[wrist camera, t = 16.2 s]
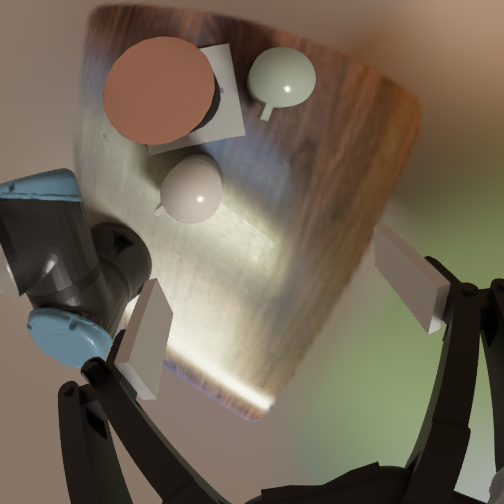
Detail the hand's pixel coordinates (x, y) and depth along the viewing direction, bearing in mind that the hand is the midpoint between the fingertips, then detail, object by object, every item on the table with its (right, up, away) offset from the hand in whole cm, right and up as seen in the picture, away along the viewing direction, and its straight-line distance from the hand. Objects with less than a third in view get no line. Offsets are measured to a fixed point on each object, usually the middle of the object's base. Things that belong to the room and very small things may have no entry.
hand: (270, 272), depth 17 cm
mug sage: (+2, +25, +22) cm, 34 cm away
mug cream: (-11, +12, +28) cm, 32 cm away
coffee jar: (-11, +24, +21) cm, 34 cm away
